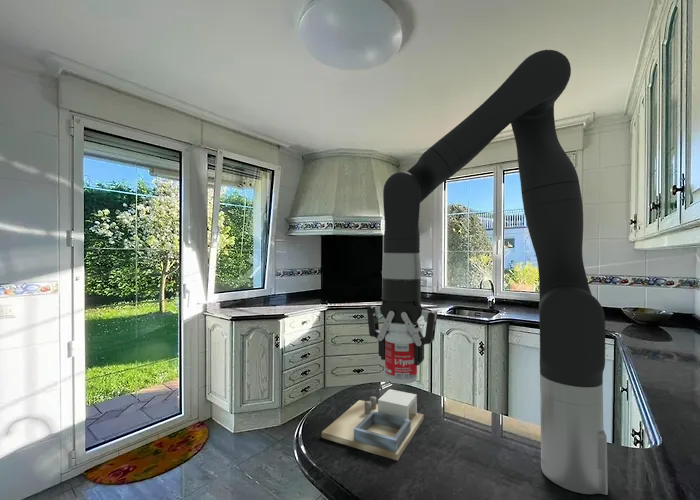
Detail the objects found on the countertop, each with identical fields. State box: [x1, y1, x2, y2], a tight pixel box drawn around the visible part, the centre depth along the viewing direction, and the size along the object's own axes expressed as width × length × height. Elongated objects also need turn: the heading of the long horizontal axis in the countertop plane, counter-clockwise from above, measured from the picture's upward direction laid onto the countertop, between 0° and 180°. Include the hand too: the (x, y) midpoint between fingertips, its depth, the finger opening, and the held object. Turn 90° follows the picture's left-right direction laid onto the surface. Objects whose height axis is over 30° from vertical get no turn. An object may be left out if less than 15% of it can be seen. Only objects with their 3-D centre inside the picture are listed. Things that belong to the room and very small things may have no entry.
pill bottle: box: [384, 323, 418, 385], centre depth 65 cm, size 6×6×11 cm
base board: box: [321, 395, 425, 461], centre depth 75 cm, size 17×18×4 cm
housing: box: [377, 388, 418, 420], centre depth 78 cm, size 7×7×4 cm
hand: (400, 361), depth 65 cm, fingers closed on pill bottle, 6 cm apart
